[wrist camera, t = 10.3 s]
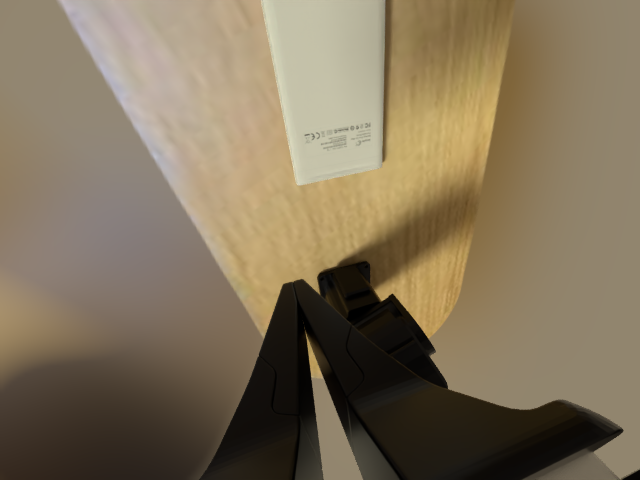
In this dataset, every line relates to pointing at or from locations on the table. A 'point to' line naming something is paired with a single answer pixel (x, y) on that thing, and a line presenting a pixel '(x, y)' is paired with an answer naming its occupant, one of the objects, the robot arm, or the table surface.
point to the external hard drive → (329, 83)
